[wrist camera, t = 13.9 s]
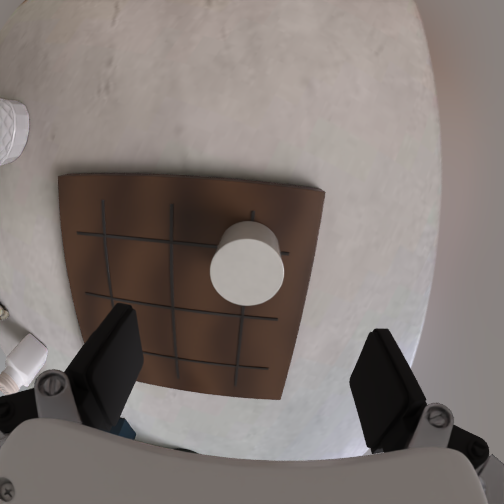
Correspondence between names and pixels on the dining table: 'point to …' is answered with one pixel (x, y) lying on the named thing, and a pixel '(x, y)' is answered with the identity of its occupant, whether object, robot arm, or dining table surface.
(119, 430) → the watch
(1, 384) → the pepper shaker
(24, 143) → the white cup
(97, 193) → the board
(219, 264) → the white cylinder
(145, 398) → the dining table surface
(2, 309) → the oyster shell
